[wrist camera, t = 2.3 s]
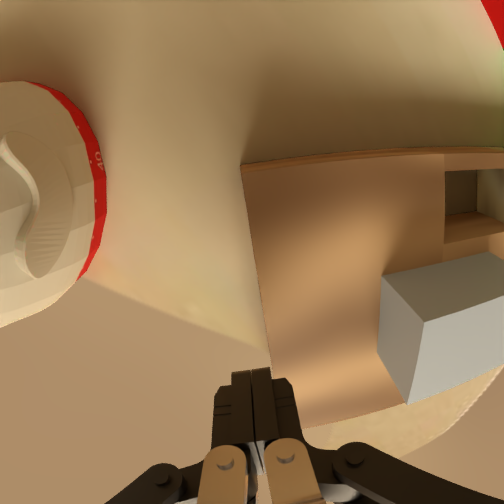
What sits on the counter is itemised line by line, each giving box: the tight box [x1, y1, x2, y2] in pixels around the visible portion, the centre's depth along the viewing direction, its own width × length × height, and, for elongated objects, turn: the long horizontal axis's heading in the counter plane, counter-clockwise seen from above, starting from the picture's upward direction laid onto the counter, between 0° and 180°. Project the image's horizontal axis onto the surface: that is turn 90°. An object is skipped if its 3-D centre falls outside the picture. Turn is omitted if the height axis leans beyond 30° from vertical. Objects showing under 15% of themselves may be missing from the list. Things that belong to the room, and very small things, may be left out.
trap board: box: [240, 146, 504, 429], centre depth 15 cm, size 15×23×6 cm, turn 99°
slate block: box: [377, 251, 504, 405], centre depth 12 cm, size 4×7×4 cm, turn 99°
